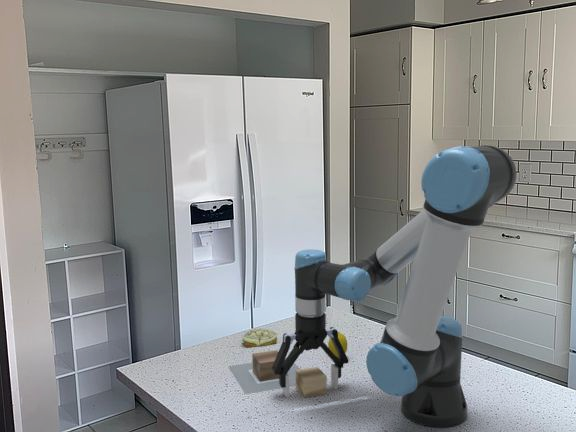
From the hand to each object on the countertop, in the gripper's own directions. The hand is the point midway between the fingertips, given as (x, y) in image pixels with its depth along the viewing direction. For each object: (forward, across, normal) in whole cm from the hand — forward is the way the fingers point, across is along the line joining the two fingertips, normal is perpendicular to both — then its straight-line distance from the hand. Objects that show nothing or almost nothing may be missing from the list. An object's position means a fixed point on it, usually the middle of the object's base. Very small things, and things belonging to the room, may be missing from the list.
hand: (310, 394), depth 145 cm
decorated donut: (+1, +2, -38) cm, 38 cm away
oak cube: (0, 0, 0) cm, 0 cm away
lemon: (0, -16, -19) cm, 25 cm away
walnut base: (-1, +7, -13) cm, 15 cm away
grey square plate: (0, +7, -13) cm, 15 cm away
